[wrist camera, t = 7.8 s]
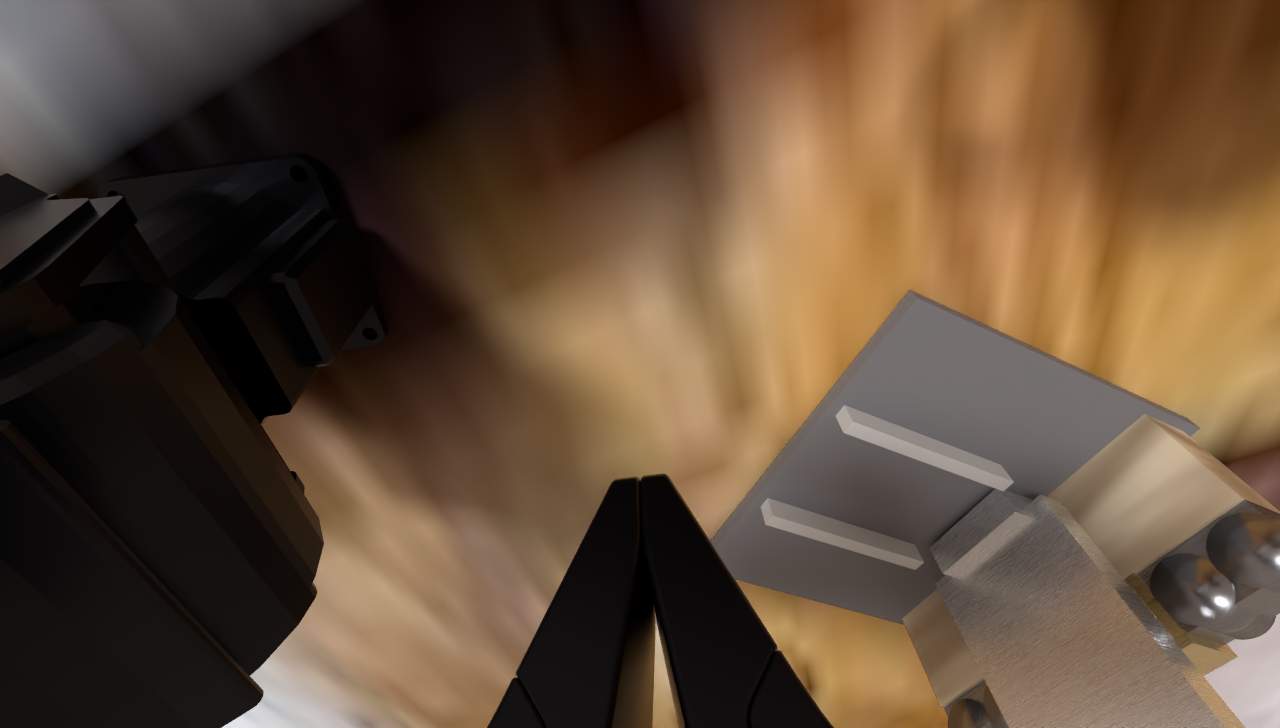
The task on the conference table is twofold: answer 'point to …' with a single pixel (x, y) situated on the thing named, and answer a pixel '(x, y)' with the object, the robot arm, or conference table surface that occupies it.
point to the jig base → (917, 458)
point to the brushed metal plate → (1063, 625)
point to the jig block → (1105, 527)
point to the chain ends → (1191, 598)
